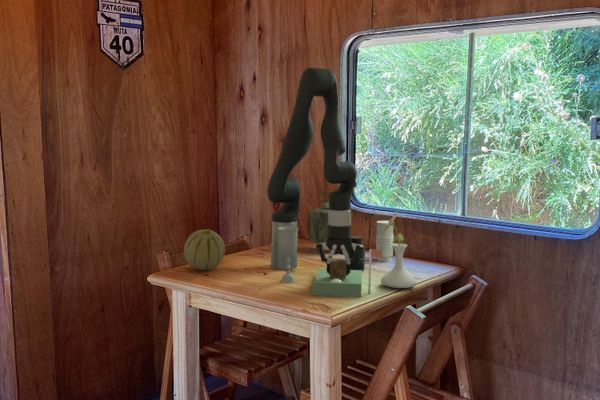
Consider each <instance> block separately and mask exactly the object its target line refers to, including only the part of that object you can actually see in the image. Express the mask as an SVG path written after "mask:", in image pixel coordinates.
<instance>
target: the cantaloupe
mask: <svg viewBox="0 0 600 400" xmlns="http://www.w3.org/2000/svg"><path fill="white" fill-rule="evenodd" d="M225 249H226V247H225V242H224V240H223V239H222V237H221V236H220V235H219V234H218V233H217V232H215V231H214V230H211V229H205V228H204V229H199V230H196V231H194V232H192V233H191V234H190V235H189V236H188V237H187V239H186V241H185V244H184V248H183V255H184V258H185V260H186V262H187V263H188V265H189V266H191V267H192V268H193V269H195V270H199V271H210V270H213V269H215V268H217V267H218V266H219V265H220V264H221V263H222V261H223V259H224V257H225V251H226V250H225Z"/></svg>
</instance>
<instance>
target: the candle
mask: <svg viewBox="0 0 600 400" xmlns="http://www.w3.org/2000/svg"><path fill="white" fill-rule="evenodd" d="M388 223H389V220H377V221H376V235H375V246H376V249H378V250H382V257H376V260H377V262H378V261H379V262H391V261H392V260H393V259H392V257H393V256H394V248H393V246H392V244H395V243H393V240H394V239H395V236H394V226H393V225H391V226H390V227H389V229H388V230H387V231H386V232H385V233H384V231H383V230H384V229H385V226H386V225H387V224H388Z"/></svg>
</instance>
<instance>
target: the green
mask: <svg viewBox="0 0 600 400" xmlns="http://www.w3.org/2000/svg"><path fill="white" fill-rule="evenodd" d="M333 279H340V280H341V281H342V282H330V281H331V280H333ZM362 282H363V271H362V270H350V274H348V276H346V279H344V278H342V277H333V278H330V275H329V273H327V268H326V269H325V268H318V271H317V272H316V276H315V279H314V280H313V281H312V284H311V287H312V288H311V292H312V296H326V297H328V296H329V297H348V298H349V297H354V298H355V297H356V298H361V297H362V285H363V283H362Z"/></svg>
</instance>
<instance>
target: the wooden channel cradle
mask: <svg viewBox="0 0 600 400" xmlns="http://www.w3.org/2000/svg"><path fill="white" fill-rule="evenodd" d="M346 263H347V262H346V259H345V258H332V260H331V262H330V278H333V277H342V278H344V279H346Z"/></svg>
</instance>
